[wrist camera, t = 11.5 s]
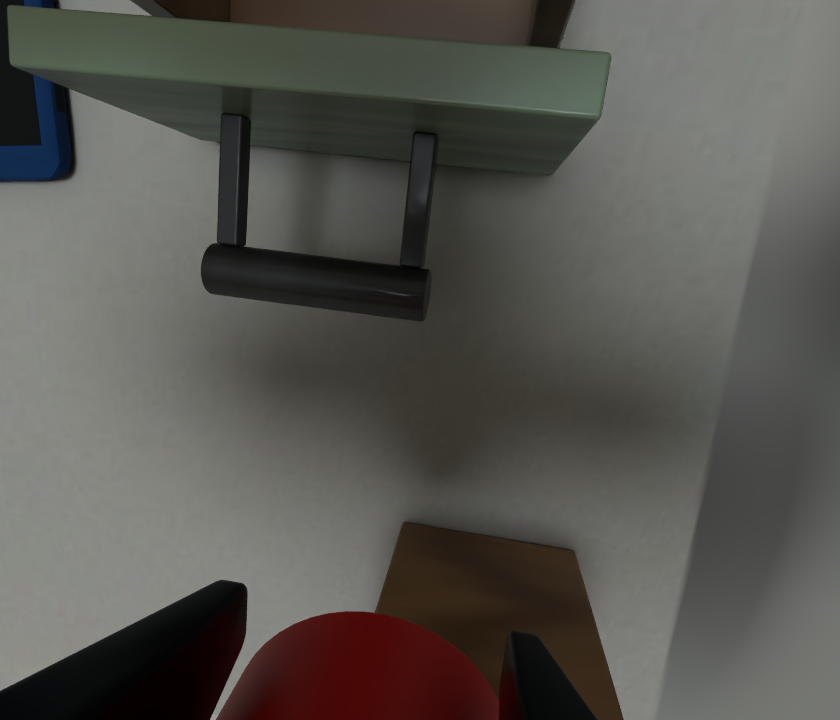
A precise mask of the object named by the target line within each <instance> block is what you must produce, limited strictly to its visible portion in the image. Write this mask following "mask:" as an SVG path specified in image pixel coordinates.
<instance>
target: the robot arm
mask: <svg viewBox="0 0 840 720" xmlns="http://www.w3.org/2000/svg"><path fill="white" fill-rule="evenodd" d="M246 621H247V588H246V586H245V585H244V584H243V583H238V582H233V581H227V580H219V581H216V582H214V583H212V584H210V585H208V586H206V587H204V588H202V589H200V590H198V591H196V592H194V593H193V594H191V595H189V596H187V597H185V598H183V599H181V600H179V601H177V602H175V603H173V604H171V605H169V606H167V607H165V608H163V609H161V610H159V611H157V612H155V613H153V614H151V615H149V616H147V617H145V618H143V619H141V620H139V621H137V622H135V623H133V624H131V625H129V626H127V627H125V628H124V629H122V630H120V631H118V632H116V633H114V634H112V635H110V636H108V637H106V638H104V639H102V640H100V641H98V642H96V643H94V644H92V645H90V646H88V647H86V648H84V649H82V650H80V651H78V652H76V653H74V654H72V655H70V656H68V657H66V658H64V659H62V660H60V661H58V662H56V663H55V664H53V665H51V666H49V667H47V668H45V669H43V670H41V671H39V672H37V673H35V674H33V675H31V676H29V677H27V678H25V679H23V680H21V681H19V682H17V683H15V684H14V685H11V686H9V687H7V688H5V689H3V690H1V691H0V720H210V718H211V716H212V714H213V712H214V709H215V707H216V705H217V703H218V700H219V698H220V696H221V694H222V691H223V689H224V687H225V685H226V682H227V680H228V678H229V676H230V673H231V671H232V669H233V667H234V664H235V662H236V660H237V658H238V655H239V653H240V651H241V648H242V646H243V643H244V639H245V635H246ZM499 720H597V719H596V717H595V716H594V714H593V713H592V712H591V710H590V709H589V707H588V706H587V704H586V703H585V702H584V700H583V699H582V697H581V696H580V695H579V693H578V692H577V690H576V689H575V687H574V686H573V685H572V683H571V682H570V680H569V679H568V678H567V676H566V675H565V673H564V672H563V670H562V669H561V668H560V666H559V665H558V663H557V662H556V661H555V659H554V658H553V656H552V655H551V653H550V652H549V651H548V649H547V648H546V646H545V645H544V644H543V642H542V641H541V639H540V638H539V637H538V636H537V635H535V634H531V633H525V632H520V631H514V630H513V631H510V632H509V634H508V636H507V641H506V647H505V653H504V659H503V666H502V672H501V678H500V688H499Z"/></svg>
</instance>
